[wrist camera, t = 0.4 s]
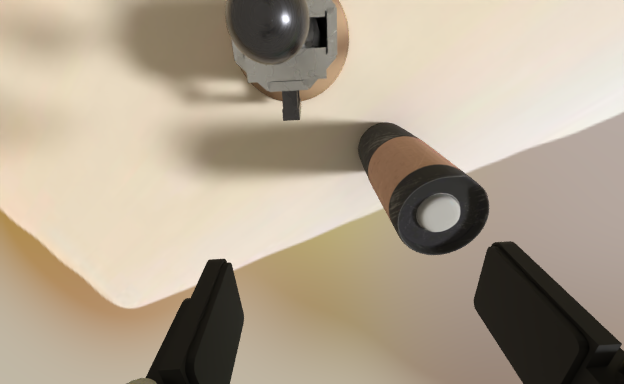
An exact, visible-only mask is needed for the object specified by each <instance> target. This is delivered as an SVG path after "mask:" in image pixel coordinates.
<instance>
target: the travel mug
mask: <svg viewBox="0 0 624 384" xmlns="http://www.w3.org/2000/svg"><path fill="white" fill-rule="evenodd" d="M358 150H359V156H360V159H361V162H362V164H363V167H364V169H365V171H366V174H367V176H368V178H369V181H370V183H371V185H372V187H373V189H374V190H375V192H376V194H377V196H378V198H379V200H380V202H381V204H382V205H383V207H384V209H385V211H386V213H387V215H388V216H389V218H390V220H391V222H392V224H393V226H394V228H395V230H396V232H397V233H398V235H399V237H400V239H401V240H402V241H403V242H404V244H406V245H407V246H408V247H409V248H411V249H412V250H414V251H416V252H419V253H422V254H427V255H441V254H447V253H450V252H453V251H456V250H458V249H460V248H462V247H464V246H466V245H467V244H468V243H470V242H471V241H472V240H473V239H474V238H475V237H476V236H477V235H478V234H479V233H480V232H481V230H482V229H483V227H484V225H485V223H486V221H487V218H488V214H489V201H488V196H487V193H486V192H485V190H484V189H483V188H482V187H481V186H480V185H479V184H478V183H477V182H475V181H474V180H473V179H472V178H471V177H469V176H468V175H467V174H465V173H464V172H463V171H461V170H460V169H459V168H457V167H456V166H455V165H454V164H452V163H451V162H450V161H448V160H447V159H446V158H444V157H443V156H442V155H440V154H439V153H438V152H436V151H435V150H434V149H433V148H431V147H430V146H429V145H427V144H426V143H425V142H423V141H422V140H420V139H419V138H417V137H415V136H414V135H412V134H411V133H409V132H407V131H406V130H404V129H403V128H401V127H399V126H397V125H395V124H392V123H380V124H377V125H374V126H372V127H371V128H369V129H368V130H367V131H366V132H365V133H364V134H363V136H362V138H361V140H360V143H359V149H358Z"/></svg>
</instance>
